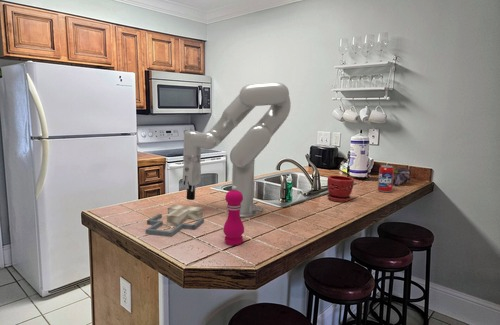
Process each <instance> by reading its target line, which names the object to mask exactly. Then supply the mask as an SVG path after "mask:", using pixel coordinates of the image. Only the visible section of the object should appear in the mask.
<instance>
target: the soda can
mask: <svg viewBox="0 0 500 325" xmlns="http://www.w3.org/2000/svg"><path fill="white" fill-rule="evenodd" d="M394 170H395V169H394V166H392V165H383V164H382V165H380V167H379V169H378V172H379V173H378V182H377V190H378V191H380V192H381V193H390V192H393V188H394V184H393V176H394Z"/></svg>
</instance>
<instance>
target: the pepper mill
mask: <svg viewBox="0 0 500 325" xmlns="http://www.w3.org/2000/svg"><path fill="white" fill-rule="evenodd" d="M224 200H225V201H226V209H227V211H228V212H227V213H228V214H227V219H226V221H225V222H224V224H223V228H222V230H223V233H224V235H225V236H224V243H225V244H226V245H228V246H239V245H242V243H243V241H244V240H243V239H244V237H243V234H244V233H245V226H244V223H243V221H242V219H241V218H242V217H240V209H241V204H240V203H241V202H242V200H243V195H242V193H241V192H240V191H238V190H237V187H236V186H233V187H232V186H231V190H229V191H228V192H227V193H226V194H225V199H224Z"/></svg>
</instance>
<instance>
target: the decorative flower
mask: <svg viewBox="0 0 500 325" xmlns="http://www.w3.org/2000/svg"><path fill="white" fill-rule="evenodd" d="M411 172H412V171H411V170H410V169H409V168H405V167H400V168H395V169H394V176H393V186H394V187H399V186H400V185H402V186H403V185H405V184H406V183H407V181H411V176H410V175H412V173H411Z"/></svg>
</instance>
